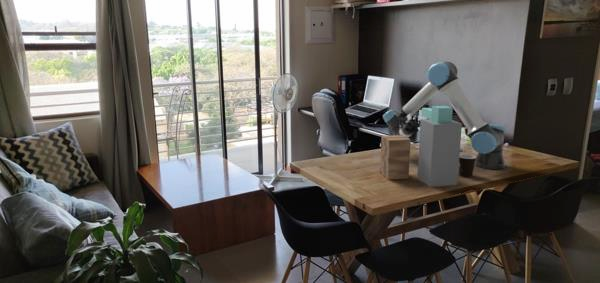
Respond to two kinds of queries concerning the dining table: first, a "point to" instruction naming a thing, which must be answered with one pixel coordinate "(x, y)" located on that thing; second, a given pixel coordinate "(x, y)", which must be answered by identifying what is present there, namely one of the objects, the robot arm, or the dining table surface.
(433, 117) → the teal bar
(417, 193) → the dining table surface
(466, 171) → the coffee mug
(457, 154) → the stand
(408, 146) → the walnut block
